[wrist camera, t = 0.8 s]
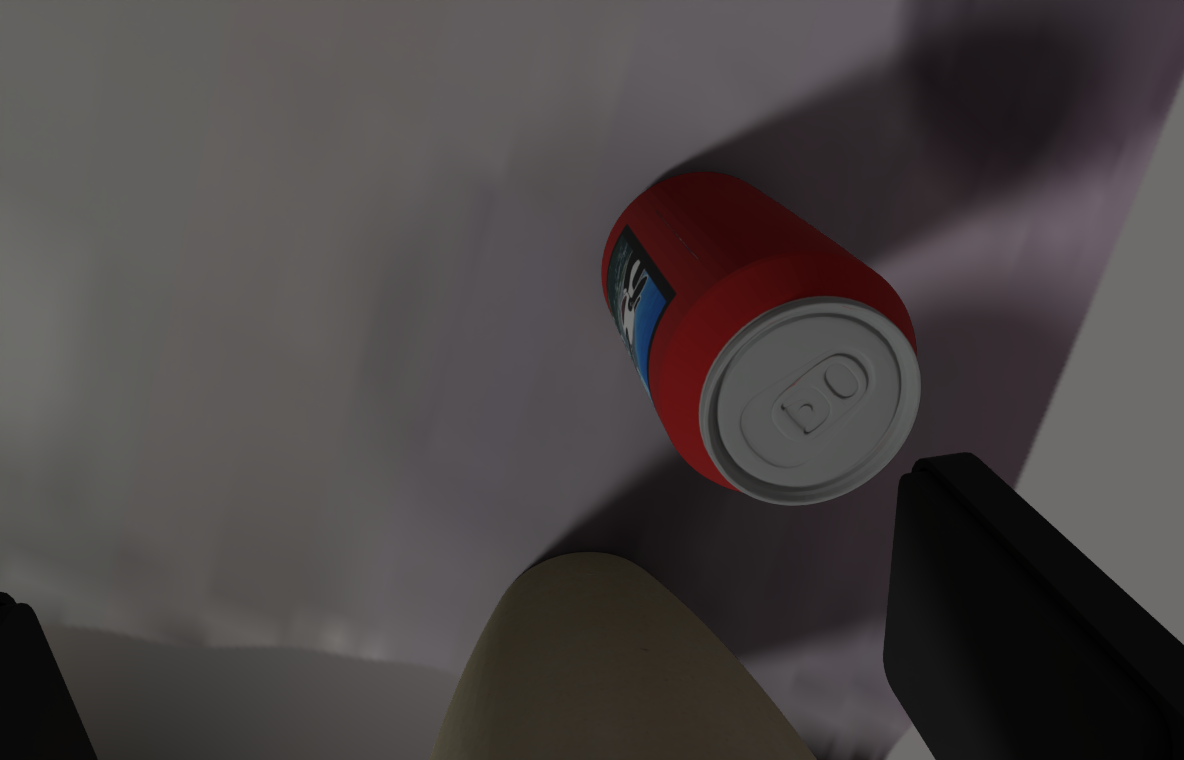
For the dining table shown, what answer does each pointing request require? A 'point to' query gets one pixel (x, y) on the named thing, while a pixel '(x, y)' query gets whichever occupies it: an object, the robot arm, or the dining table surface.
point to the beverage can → (760, 340)
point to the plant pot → (606, 677)
